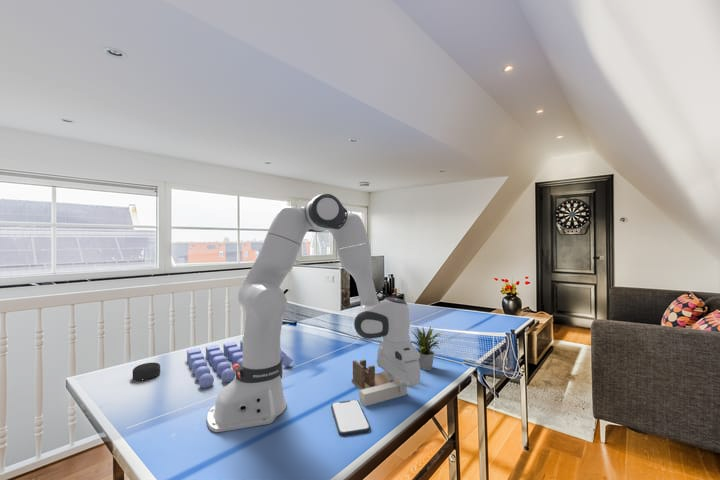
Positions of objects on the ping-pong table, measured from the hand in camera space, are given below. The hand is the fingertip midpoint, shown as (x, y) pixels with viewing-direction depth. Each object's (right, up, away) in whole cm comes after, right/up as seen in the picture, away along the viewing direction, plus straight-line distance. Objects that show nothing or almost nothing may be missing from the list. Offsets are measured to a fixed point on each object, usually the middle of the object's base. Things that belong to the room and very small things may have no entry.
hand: (396, 389), depth 109 cm
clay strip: (-4, -2, -2) cm, 5 cm away
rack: (-4, -2, +10) cm, 11 cm away
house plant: (+14, -2, +21) cm, 25 cm away
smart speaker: (-93, -3, +17) cm, 95 cm away
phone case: (-15, -3, -14) cm, 21 cm away
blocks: (-62, -3, +28) cm, 69 cm away
